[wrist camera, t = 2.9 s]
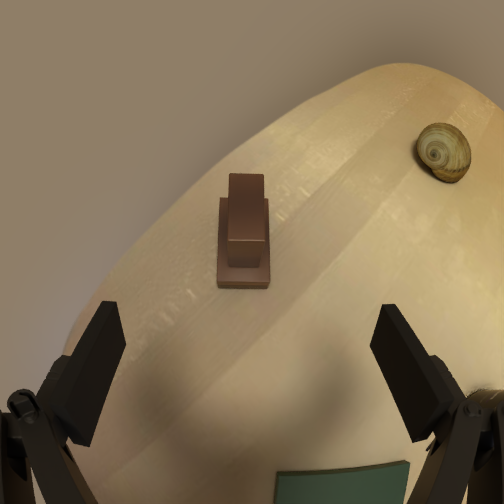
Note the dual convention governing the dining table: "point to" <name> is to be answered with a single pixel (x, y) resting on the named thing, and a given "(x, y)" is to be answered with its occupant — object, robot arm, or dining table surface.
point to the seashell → (444, 151)
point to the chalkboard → (344, 485)
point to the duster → (244, 234)
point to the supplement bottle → (488, 398)
